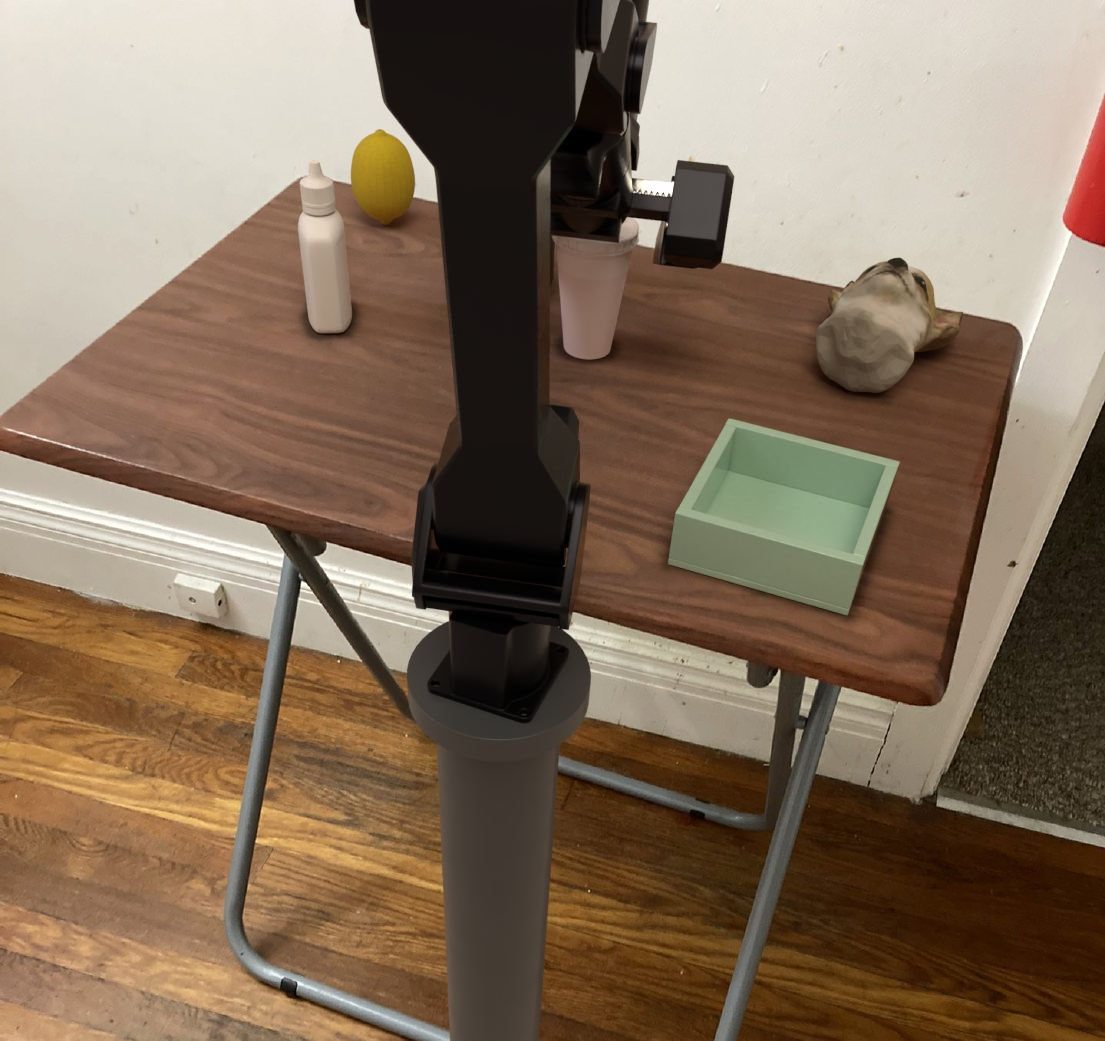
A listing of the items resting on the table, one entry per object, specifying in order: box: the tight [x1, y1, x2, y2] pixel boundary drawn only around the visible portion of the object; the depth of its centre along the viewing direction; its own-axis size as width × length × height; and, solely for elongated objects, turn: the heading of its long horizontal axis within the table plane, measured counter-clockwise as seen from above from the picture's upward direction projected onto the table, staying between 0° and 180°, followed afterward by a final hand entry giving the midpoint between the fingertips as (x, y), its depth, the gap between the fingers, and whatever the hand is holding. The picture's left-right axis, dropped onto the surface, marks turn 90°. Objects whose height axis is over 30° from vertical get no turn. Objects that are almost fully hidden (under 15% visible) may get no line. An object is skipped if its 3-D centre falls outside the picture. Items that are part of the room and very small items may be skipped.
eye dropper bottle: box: [297, 159, 353, 334], centre depth 88 cm, size 4×6×12 cm
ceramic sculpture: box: [815, 257, 964, 394], centre depth 89 cm, size 11×9×15 cm
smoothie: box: [552, 217, 640, 360], centre depth 86 cm, size 6×6×14 cm
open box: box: [667, 418, 901, 616], centre depth 74 cm, size 12×12×4 cm
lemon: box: [350, 128, 416, 226], centre depth 101 cm, size 6×6×8 cm
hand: (595, 249), depth 87 cm, fingers open, 9 cm apart
